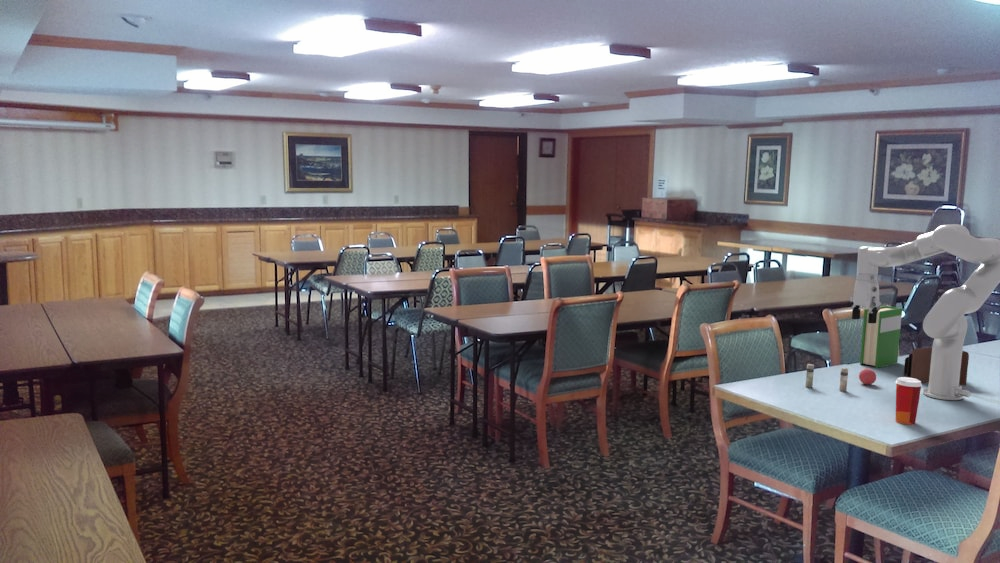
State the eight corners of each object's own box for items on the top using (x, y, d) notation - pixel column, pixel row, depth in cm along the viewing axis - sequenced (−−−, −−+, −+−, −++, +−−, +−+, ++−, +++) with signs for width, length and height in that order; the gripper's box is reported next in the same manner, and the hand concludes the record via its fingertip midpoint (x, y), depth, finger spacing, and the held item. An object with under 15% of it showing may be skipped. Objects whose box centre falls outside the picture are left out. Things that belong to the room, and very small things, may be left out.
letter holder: (966, 386, 296) (970, 350, 294) (910, 381, 301) (913, 346, 299) (957, 379, 306) (961, 344, 304) (903, 375, 310) (906, 341, 309)
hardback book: (877, 368, 322) (881, 311, 319) (859, 364, 328) (864, 309, 325) (897, 362, 333) (902, 308, 329) (880, 359, 338) (884, 305, 335)
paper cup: (912, 419, 251) (916, 377, 250) (923, 426, 244) (927, 383, 242) (887, 417, 252) (891, 376, 250) (897, 425, 245) (901, 382, 243)
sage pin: (813, 387, 289) (815, 365, 288) (810, 388, 287) (811, 365, 286) (807, 385, 291) (809, 363, 290) (804, 386, 289) (805, 364, 288)
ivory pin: (847, 391, 284) (849, 368, 283) (844, 392, 283) (846, 369, 282) (841, 389, 286) (843, 367, 285) (837, 390, 285) (839, 368, 284)
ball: (878, 385, 294) (879, 369, 293) (870, 387, 291) (871, 371, 290) (863, 381, 299) (864, 366, 298) (855, 383, 295) (856, 368, 295)
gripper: (890, 280, 294) (887, 324, 296) (860, 275, 311) (858, 317, 313) (873, 280, 292) (869, 325, 294) (844, 275, 309) (841, 317, 311)
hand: (863, 321), depth 303 cm, fingers open, 9 cm apart
